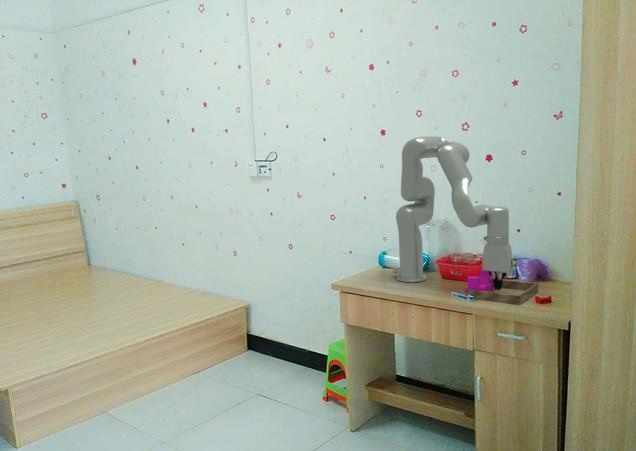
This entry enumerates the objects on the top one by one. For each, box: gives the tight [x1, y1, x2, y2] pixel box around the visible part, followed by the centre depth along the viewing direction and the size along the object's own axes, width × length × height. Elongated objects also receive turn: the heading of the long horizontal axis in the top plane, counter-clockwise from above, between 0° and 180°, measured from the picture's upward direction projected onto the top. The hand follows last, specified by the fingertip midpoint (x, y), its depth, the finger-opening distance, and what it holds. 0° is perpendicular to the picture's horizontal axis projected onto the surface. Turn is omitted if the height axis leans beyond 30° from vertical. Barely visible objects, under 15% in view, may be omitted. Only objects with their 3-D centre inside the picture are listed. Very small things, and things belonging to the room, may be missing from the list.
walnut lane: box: [469, 277, 539, 306], centre depth 205 cm, size 18×20×3 cm
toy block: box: [466, 268, 495, 295], centre depth 209 cm, size 15×6×8 cm, turn 144°
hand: (497, 289), depth 207 cm, fingers closed
